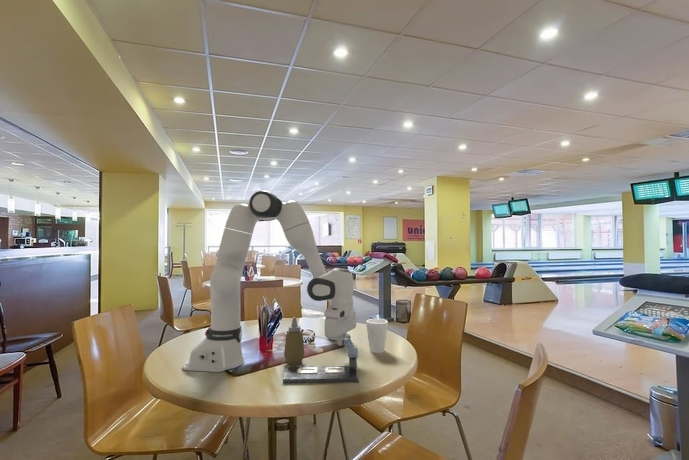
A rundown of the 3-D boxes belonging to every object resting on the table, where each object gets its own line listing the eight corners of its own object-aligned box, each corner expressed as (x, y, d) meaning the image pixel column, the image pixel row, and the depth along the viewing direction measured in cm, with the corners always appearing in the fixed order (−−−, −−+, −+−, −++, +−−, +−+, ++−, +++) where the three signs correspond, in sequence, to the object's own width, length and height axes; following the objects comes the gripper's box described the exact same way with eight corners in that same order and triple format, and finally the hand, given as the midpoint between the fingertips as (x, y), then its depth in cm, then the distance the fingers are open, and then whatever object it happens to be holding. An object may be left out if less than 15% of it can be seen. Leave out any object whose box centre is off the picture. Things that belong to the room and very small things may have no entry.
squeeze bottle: (308, 361, 146) (308, 316, 146) (297, 367, 139) (297, 320, 139) (291, 358, 149) (291, 314, 150) (279, 364, 142) (280, 318, 142)
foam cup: (386, 355, 154) (386, 324, 154) (365, 353, 156) (365, 323, 156) (388, 348, 163) (388, 319, 163) (368, 346, 165) (368, 318, 165)
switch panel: (282, 383, 124) (282, 365, 124) (286, 370, 136) (286, 353, 136) (358, 382, 125) (358, 364, 125) (355, 369, 137) (355, 353, 137)
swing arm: (358, 357, 131) (358, 350, 131) (348, 358, 130) (348, 350, 130) (349, 340, 152) (349, 333, 152) (341, 340, 151) (341, 334, 151)
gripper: (346, 304, 154) (346, 337, 153) (321, 313, 135) (321, 350, 135) (360, 306, 151) (359, 339, 150) (336, 315, 133) (335, 353, 132)
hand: (341, 344), depth 143 cm, fingers closed
